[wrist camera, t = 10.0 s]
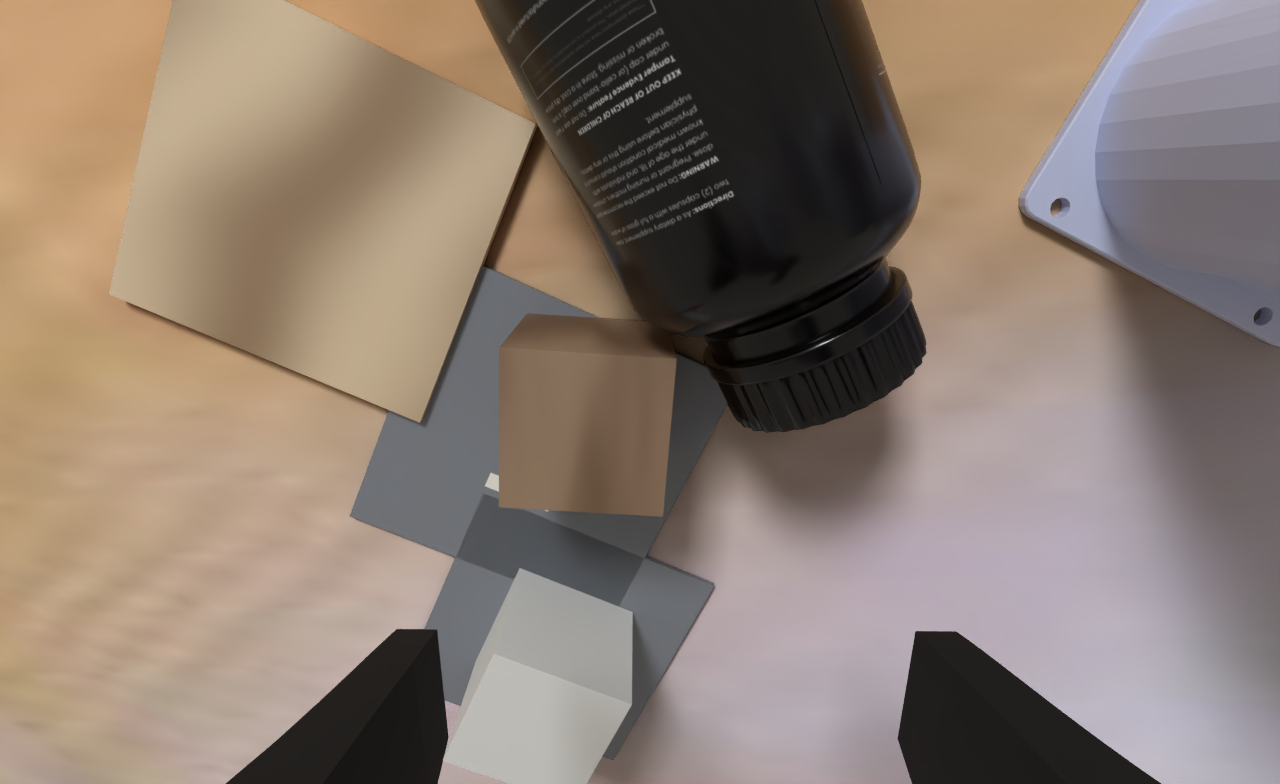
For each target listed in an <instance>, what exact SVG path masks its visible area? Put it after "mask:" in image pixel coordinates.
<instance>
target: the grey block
mask: <svg viewBox="0 0 1280 784" xmlns="http://www.w3.org/2000/svg"><path fill="white" fill-rule="evenodd" d="M632 627H633V612H631V611H629V610H626V609H624V608H621V607H618V606H616V605H613V604H611V603H608V602H606V601H603V600H601V599H598V598H595V597H593V596H590V595H588V594H585V593H583V592H580V591H577V590H575V589H572V588H570V587H567V586H565V585H562V584H560V583H557V582H554V581H552V580H549V579H547V578H544V577H542V576H539V575H536V574H534V573H531V572H529V571H526V570H524V569H521V568H519V570H518V573H517V575H516V577H515V579H514V581H513V583H512V585H511V587H510V589H509V592H508V594H507V596H506V598H505V600H504V602H503V604H502V606H501V609H500V611H499V613H498V615H497V617H496V619H495V621H494V623H493V626H492V628H491V630H490V632H489V634H488V636H487V638H486V640H485V643H484V645H483V647H482V649H481V651H480V653H479V655H478V657H477V660H476V662H475V665H474V668H473V671H472V674H471V677H470V680H469V683H468V686H467V689H466V692H465V695H464V698H463V701H462V704H461V707H460V710H459V713H458V716H457V719H456V722H455V725H454V728H453V731H452V734H451V737H450V740H449V743H448V746H447V749H446V752H445V755H444V758H443V761H444V762H447V763H450V764H453V765H456V766H459V767H461V768H464V769H467V770H470V771H473V772H476V773H479V774H482V775H485V776H488V777H491V778H494V779H497V780H500V781H502V782H505V783H508V784H587V782H588V780H589V779H590V777H591V775H592V773H593V772H594V770H595V768H596V766H597V765H598V763H599V761H600V759H601V758H602V756H603V754H604V752H605V751H606V749H607V747H608V745H609V744H610V742H611V740H612V738H613V737H614V735H615V733H616V732H617V730H618V728H619V726H620V725H621V723H622V721H623V719H624V718H625V716H626V714H627V712H628V711H629V709H630V707H631V705H632Z"/></svg>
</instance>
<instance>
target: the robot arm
mask: <svg viewBox="0 0 1280 784" xmlns="http://www.w3.org/2000/svg"><path fill="white" fill-rule="evenodd" d="M1056 199H1059V200H1060V201H1061V205H1062V207H1061V210H1060V212H1059V213H1058V214H1057V215H1056V216H1052V214H1051V212H1050V207H1051V204H1052V203H1053V202H1054V201H1055V200H1056ZM1019 207H1020V210H1021V212H1022V213H1023V214H1024V215H1025V216H1026V217H1028V218H1030V219H1032V220H1034V221H1036V222H1038V223H1040V224H1042V225H1044V226H1045V227H1047V228H1049V229H1051V230H1053V231H1055V232H1057V233H1059V234H1061V235H1062V236H1064V237H1066V238H1068V239H1070V240H1072V241H1074V242H1076V243H1078V244H1080V245H1081V246H1083V247H1085V248H1087V249H1089V250H1091V251H1093V252H1095V253H1097V254H1098V255H1100V256H1102V257H1104V258H1106V259H1108V260H1110V261H1112V262H1114V263H1115V264H1117V265H1119V266H1121V267H1123V268H1125V269H1127V270H1129V271H1131V272H1133V273H1134V274H1136V275H1138V276H1140V277H1142V278H1144V279H1146V280H1148V281H1150V282H1151V283H1153V284H1155V285H1157V286H1159V287H1161V288H1163V289H1165V290H1167V291H1169V292H1170V293H1172V294H1174V295H1176V296H1178V297H1180V298H1182V299H1184V300H1186V301H1187V302H1189V303H1191V304H1193V305H1195V306H1197V307H1199V308H1201V309H1203V310H1204V311H1206V312H1208V313H1210V314H1212V315H1214V316H1216V317H1218V318H1220V319H1222V320H1223V321H1225V322H1227V323H1229V324H1231V325H1233V326H1235V327H1237V328H1239V329H1240V330H1242V331H1244V332H1246V333H1248V334H1250V335H1252V336H1254V337H1256V338H1257V339H1259V340H1261V341H1263V342H1265V343H1267V344H1271V345H1274V346H1278V347H1280V0H1139V2H1138V4H1137V5H1136V7H1135V8H1134V10H1133V12H1132V13H1131V15H1130V17H1129V18H1128V20H1127V21H1126V23H1125V25H1124V26H1123V28H1122V30H1121V31H1120V33H1119V34H1118V36H1117V38H1116V39H1115V41H1114V43H1113V44H1112V46H1111V47H1110V49H1109V51H1108V52H1107V54H1106V56H1105V57H1104V59H1103V60H1102V62H1101V64H1100V65H1099V67H1098V68H1097V70H1096V72H1095V73H1094V75H1093V77H1092V78H1091V80H1090V81H1089V83H1088V85H1087V86H1086V88H1085V90H1084V91H1083V93H1082V94H1081V96H1080V98H1079V99H1078V101H1077V103H1076V104H1075V106H1074V107H1073V109H1072V111H1071V112H1070V114H1069V116H1068V117H1067V119H1066V120H1065V122H1064V124H1063V125H1062V127H1061V129H1060V130H1059V132H1058V133H1057V135H1056V137H1055V138H1054V140H1053V142H1052V143H1051V145H1050V146H1049V148H1048V150H1047V151H1046V153H1045V154H1044V156H1043V158H1042V159H1041V161H1040V163H1039V164H1038V166H1037V167H1036V169H1035V171H1034V172H1033V174H1032V176H1031V177H1030V179H1029V180H1028V182H1027V184H1026V185H1025V187H1024V189H1023V190H1022V192H1021V195H1020V197H1019ZM1260 308H1261V314H1260V316H1259V318H1258V319H1257V320H1256V321H1254V315H1255V313H1256V312H1257V311H1258V310H1259V309H1260ZM447 741H448V729H447V720H446V710H445V700H444V690H443V681H442V671H441V661H440V651H439V642H438V632H437V629H397V630H395V631H394V632H393V633H392V634H391V635H390V636H389V637H388V638H387V639H386V640H385V641H383V642H382V643H381V644H380V645H379V646H378V647H377V648H376V649H375V650H374V651H373V652H372V653H371V654H369V655H368V656H367V657H366V658H365V659H364V660H363V661H362V662H361V663H360V664H359V665H358V666H357V667H356V668H355V669H354V670H353V671H352V672H350V673H349V674H348V675H347V676H346V677H345V678H344V679H343V680H342V681H341V682H340V683H339V684H338V685H337V686H336V687H335V688H334V689H332V690H331V691H330V692H329V693H328V694H327V695H326V696H325V697H324V698H323V699H322V700H321V701H320V702H319V703H317V704H316V705H315V706H314V707H313V708H312V709H311V710H310V711H309V712H308V713H306V714H305V715H304V716H303V717H302V718H301V719H300V720H299V721H298V722H297V723H295V724H294V725H293V726H292V727H291V728H290V729H289V730H288V731H287V732H286V733H285V734H283V735H282V736H281V737H280V738H279V739H278V740H277V741H276V742H274V743H273V744H272V745H271V746H270V747H269V748H267V749H266V750H265V751H264V752H263V753H261V754H260V755H259V756H258V757H257V758H256V759H254V760H253V761H252V762H251V763H250V764H248V765H247V766H246V767H245V768H244V769H243V770H241V771H240V772H239V773H238V774H237V775H235V776H234V777H233V778H232V779H231V780H230V781H228V782H227V783H226V784H437V783H438V779H439V775H440V771H441V767H442V762H443V758H444V754H445V750H446V745H447ZM898 741H899V744H900V747H901V750H902V753H903V757H904V760H905V763H906V766H907V769H908V772H909V775H910V778H911V781H912V784H1161V783H1159V782H1158V781H1157V780H1155V779H1154V778H1152V777H1151V776H1149V775H1148V774H1146V773H1145V772H1144V771H1142V770H1141V769H1139V768H1138V767H1136V766H1135V765H1134V764H1132V763H1131V762H1129V761H1128V760H1127V759H1125V758H1124V757H1122V756H1121V755H1120V754H1118V753H1117V752H1116V751H1114V750H1113V749H1111V748H1110V747H1109V746H1107V745H1106V744H1105V743H1103V742H1102V741H1100V740H1099V739H1098V738H1096V737H1095V736H1094V735H1092V734H1091V733H1090V732H1088V731H1087V730H1086V729H1084V728H1083V727H1082V726H1080V725H1079V724H1078V723H1076V722H1075V721H1074V720H1072V719H1071V718H1070V717H1068V716H1067V715H1066V714H1064V713H1063V712H1062V711H1060V710H1059V709H1058V708H1056V707H1055V706H1054V705H1053V704H1051V703H1050V702H1049V701H1047V700H1046V699H1045V698H1043V697H1042V696H1041V695H1039V694H1038V693H1037V692H1036V691H1034V690H1033V689H1032V688H1030V687H1029V686H1028V685H1027V684H1025V683H1024V682H1023V681H1021V680H1020V679H1019V678H1017V677H1016V676H1015V675H1014V674H1012V673H1011V672H1010V671H1008V670H1007V669H1006V668H1005V667H1003V666H1002V665H1001V664H999V663H998V662H997V661H995V660H994V659H993V658H991V657H990V656H989V655H988V654H986V653H985V652H984V651H982V650H981V649H980V648H978V647H977V646H976V645H974V644H973V643H971V642H970V641H969V640H967V639H966V638H964V637H963V636H962V635H960V634H959V633H957V632H938V631H916V632H915V638H914V644H913V650H912V656H911V662H910V668H909V674H908V680H907V686H906V692H905V698H904V704H903V710H902V716H901V722H900V728H899V734H898Z"/></svg>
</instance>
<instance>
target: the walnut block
mask: <svg viewBox="0 0 1280 784" xmlns="http://www.w3.org/2000/svg"><path fill="white" fill-rule="evenodd" d="M676 362H677V358H676V354H675V349H674V345H673V341H672V337H671V333H668V332H665V331H663V330H660V329H658V328H657V327H655V326H653V325H651V324H650V323H648V322H647V321H638V320H622V319H607V318H591V317H576V316H561V315H545V314H530V313H527V314H526V315H525V316H524V318H523V319H522V320H521V321H520V322H519V324H518V325H517V326H516V327H515V329H514V330H513V331H512V332H511V334H510V335H509V336H508V337H507V338H506V340H505V341H504V342H503V343H502V345H501V346H500V347H499V507H501V508H519V509H537V510H554V511H572V512H590V513H607V514H625V515H643V516H660V517H663V510H664V498H665V487H666V476H667V464H668V453H669V441H670V430H671V419H672V407H673V396H674V384H675V373H676Z"/></svg>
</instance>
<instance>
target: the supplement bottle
mask: <svg viewBox="0 0 1280 784" xmlns="http://www.w3.org/2000/svg"><path fill="white" fill-rule="evenodd" d="M475 2H476V4H477V6H478V8H479V10H480V12H481V14H482V16H483V18H484V20H485V22H486V24H487V26H488V28H489V30H490V32H491V34H492V36H493V38H494V40H495V42H496V44H497V46H498V48H499V50H500V52H501V54H502V56H503V58H504V59H505V61H506V63H507V65H508V67H509V69H510V71H511V73H512V75H513V77H514V79H515V81H516V83H517V85H518V87H519V89H520V91H521V93H522V95H523V97H524V99H525V101H526V102H527V104H528V106H529V108H530V110H531V112H532V114H533V116H534V118H535V120H536V122H537V124H538V126H539V128H540V130H541V132H542V134H543V136H544V138H545V140H546V142H547V143H548V145H549V147H550V149H551V151H552V153H553V155H554V157H555V159H556V161H557V163H558V165H559V167H560V169H561V171H562V173H563V175H564V177H565V179H566V181H567V183H568V184H569V186H570V188H571V190H572V192H573V194H574V196H575V198H576V200H577V202H578V204H579V206H580V208H581V210H582V212H583V214H584V216H585V218H586V220H587V222H588V224H589V226H590V227H591V229H592V231H593V233H594V235H595V237H596V239H597V241H598V243H599V245H600V247H601V249H602V251H603V253H604V255H605V257H606V259H607V261H608V263H609V265H610V267H611V268H612V270H613V272H614V274H615V276H616V278H617V280H618V282H619V284H620V286H621V288H622V290H623V292H624V294H625V295H626V296H627V298H628V300H629V302H630V304H631V305H632V307H633V309H634V310H635V311H636V312H637V313H638V315H639V316H641V317H642V318H643V319H644V320H645V321H647V322H648V323H650V324H651V325H653V326H655V327H657V328H658V329H660V330H663V331H665V332H668V333H672V334H676V335H682V336H692V337H704V338H705V340H706V342H707V344H708V347H707V348H706V350H705V352H704V356H703V359H704V362H705V364H706V367H707V369H708V371H709V373H710V375H711V377H712V378H713V379H714V380H715V381H717V383H718V385H719V387H720V389H721V391H722V393H723V395H724V397H725V399H726V402H727V404H728V406H729V408H730V410H731V412H732V414H733V416H734V417H735V419H736V420H737V421H738V422H740V423H741V424H742V425H743V426H744V427H747V428H752V430H753V431H764V432H767V433H768V432H775V431H779V432H786V431H790V430H794V429H805V428H808V427H810V426H813V425H820V424H824V423H827V422H829V421H831V420H833V419H837V418H841V417H845V416H847V415H848V414H850V413H852V412H854V411H857V410H860V409H863V408H865V407H867V406H868V405H870V404H871V403H873V402H874V401H877V400H879V399H881V398H883V397H885V396H886V395H887V394H888V393H889V392H890V391H892V390H894V389H895V388H897V387H899V386H901V385H902V383H903V382H904V381H905V380H906V379H907V378H908V377H910V376H911V375H913V374H914V372H915V369H916V368H917V367H918V366H919V365H921V364H922V358H923V356H924V355H925V354H926V347H925V346H926V340H925V336H924V333H923V330H922V327H921V325H920V322H919V319H918V317H917V314H916V311H915V309H914V306H913V303H912V301H911V299H912V290H911V287H910V285H909V282H908V280H907V277H906V275H905V273H904V272H903V271H902V270H900V269H898V268H895V267H889V266H888V264H887V261H886V258H885V257H886V256H887V255H888V253H889V252H890V251H891V250H892V249H893V247H894V246H895V245H896V244H897V242H898V241H899V240H900V239H901V237H902V236H903V235H904V233H905V232H906V230H907V229H908V227H909V225H910V223H911V221H912V219H913V217H914V215H915V212H916V209H917V206H918V201H919V196H920V190H921V175H920V172H919V168H918V164H917V161H916V158H915V155H914V151H913V148H912V145H911V142H910V139H909V136H908V133H907V130H906V127H905V124H904V121H903V118H902V115H901V113H900V110H899V107H898V104H897V101H896V98H895V95H894V92H893V89H892V86H891V84H890V81H889V78H888V75H887V72H886V69H885V66H884V63H883V60H882V58H881V55H880V52H879V49H878V46H877V43H876V40H875V37H874V34H873V32H872V29H871V26H870V23H869V20H868V17H867V14H866V11H865V8H864V5H863V3H862V0H475Z"/></svg>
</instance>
